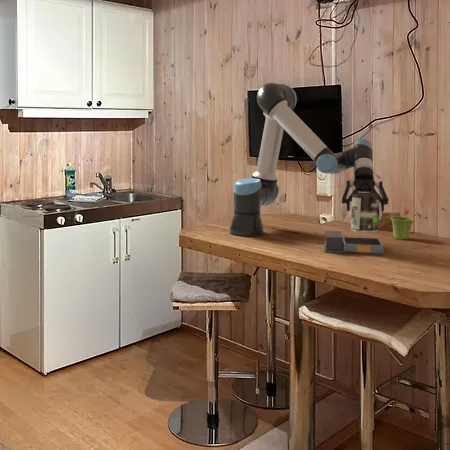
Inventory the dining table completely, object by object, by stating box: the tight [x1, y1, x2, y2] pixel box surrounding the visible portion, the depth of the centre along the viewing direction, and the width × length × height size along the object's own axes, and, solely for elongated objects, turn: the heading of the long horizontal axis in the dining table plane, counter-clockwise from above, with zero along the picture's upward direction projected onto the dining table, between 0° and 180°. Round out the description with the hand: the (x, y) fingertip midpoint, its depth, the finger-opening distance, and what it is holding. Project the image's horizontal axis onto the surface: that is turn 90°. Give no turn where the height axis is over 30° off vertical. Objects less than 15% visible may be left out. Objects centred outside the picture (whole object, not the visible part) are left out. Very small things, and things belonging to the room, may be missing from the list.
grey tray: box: [323, 230, 385, 256], centre depth 225 cm, size 21×15×6 cm
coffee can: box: [350, 192, 381, 234], centre depth 223 cm, size 10×10×14 cm
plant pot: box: [391, 216, 415, 241], centre depth 249 cm, size 9×9×9 cm
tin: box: [378, 211, 402, 232], centre depth 268 cm, size 15×3×8 cm, turn 69°
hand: (365, 217), depth 220 cm, fingers closed on coffee can, 10 cm apart
